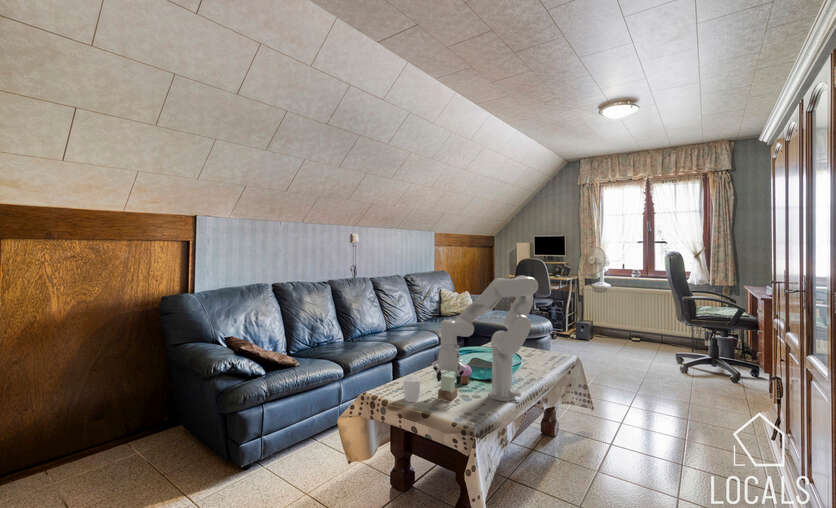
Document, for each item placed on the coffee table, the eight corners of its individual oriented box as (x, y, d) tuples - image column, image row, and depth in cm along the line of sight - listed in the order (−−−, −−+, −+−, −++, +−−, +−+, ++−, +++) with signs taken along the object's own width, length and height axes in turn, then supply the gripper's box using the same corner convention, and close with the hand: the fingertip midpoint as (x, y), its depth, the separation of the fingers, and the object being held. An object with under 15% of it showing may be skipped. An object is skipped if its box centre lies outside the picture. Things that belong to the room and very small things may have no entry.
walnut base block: (457, 396, 187) (457, 388, 187) (451, 401, 181) (451, 392, 181) (443, 393, 191) (443, 385, 191) (437, 398, 184) (438, 390, 184)
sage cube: (454, 388, 187) (454, 375, 187) (450, 391, 182) (451, 378, 182) (444, 386, 189) (445, 374, 189) (440, 389, 185) (441, 377, 185)
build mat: (469, 397, 187) (469, 396, 187) (461, 406, 177) (461, 405, 176) (435, 391, 195) (435, 390, 195) (425, 399, 185) (425, 398, 185)
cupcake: (458, 386, 202) (458, 367, 202) (452, 381, 211) (452, 362, 211) (474, 385, 205) (474, 366, 205) (467, 379, 213) (467, 361, 213)
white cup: (418, 404, 179) (418, 382, 179) (401, 402, 180) (401, 381, 180) (421, 397, 186) (421, 376, 186) (405, 396, 188) (405, 375, 188)
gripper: (468, 346, 185) (468, 382, 185) (435, 342, 193) (435, 377, 193) (463, 350, 178) (463, 387, 179) (428, 346, 186) (428, 382, 186)
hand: (448, 382), depth 186 cm, fingers open, 9 cm apart
